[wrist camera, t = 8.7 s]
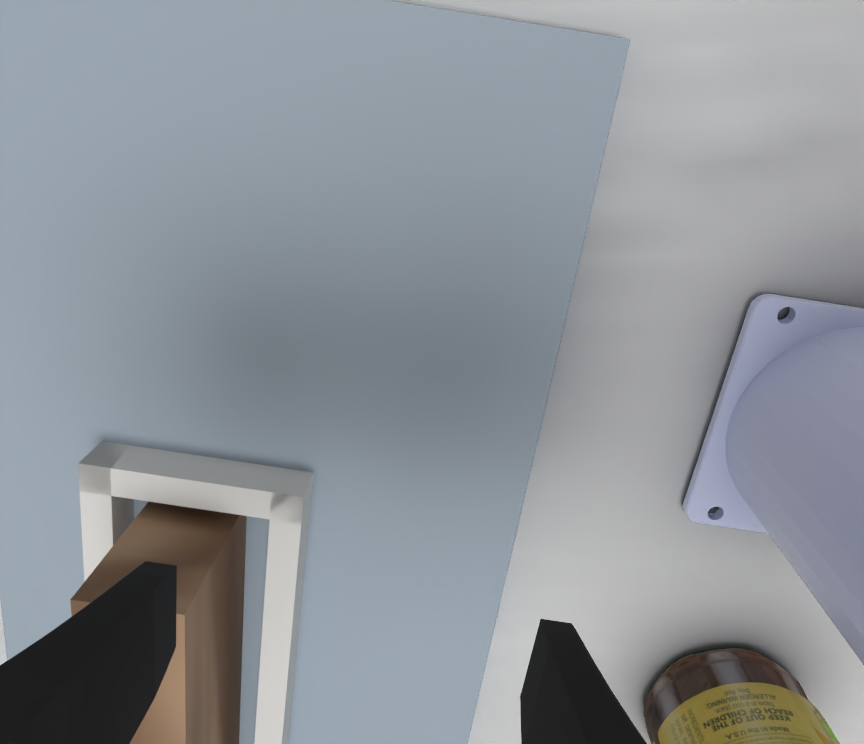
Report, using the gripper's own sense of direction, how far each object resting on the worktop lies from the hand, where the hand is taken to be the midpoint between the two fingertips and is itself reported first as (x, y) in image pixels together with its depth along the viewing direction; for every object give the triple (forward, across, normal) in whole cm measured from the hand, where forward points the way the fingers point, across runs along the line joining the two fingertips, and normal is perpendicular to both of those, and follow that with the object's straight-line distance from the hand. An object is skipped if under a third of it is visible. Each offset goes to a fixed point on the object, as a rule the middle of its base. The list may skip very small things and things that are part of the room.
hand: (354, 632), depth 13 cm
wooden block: (+9, +6, +10) cm, 14 cm away
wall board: (+10, +4, +3) cm, 11 cm away
